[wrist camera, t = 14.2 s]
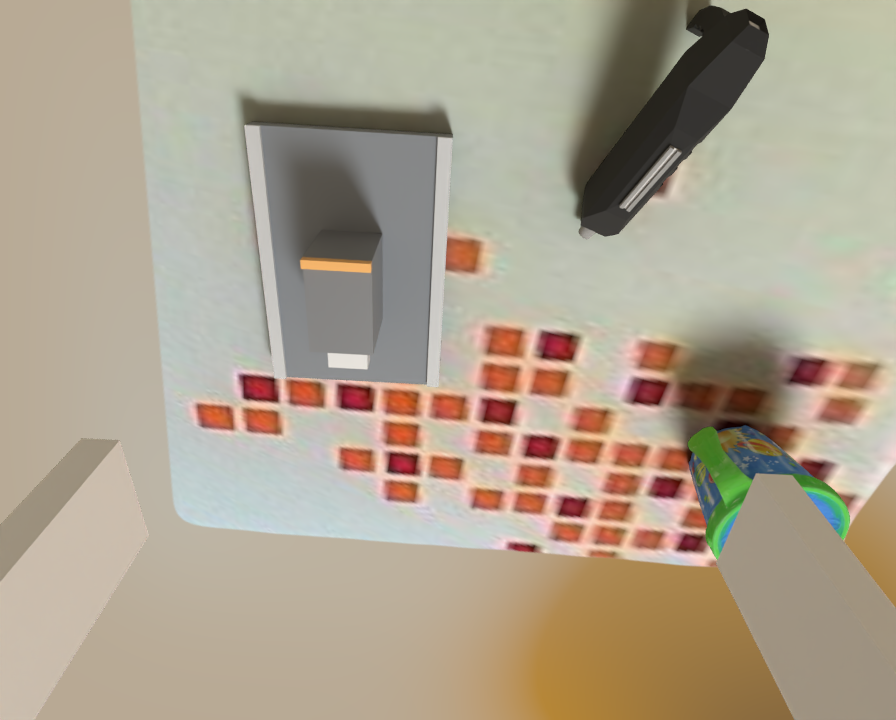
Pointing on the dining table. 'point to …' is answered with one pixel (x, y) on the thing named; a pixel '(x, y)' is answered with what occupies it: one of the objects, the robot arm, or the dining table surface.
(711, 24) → the gun
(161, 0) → the dining table surface
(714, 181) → the dining table surface
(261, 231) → the slate pad
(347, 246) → the block
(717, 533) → the snack cup
